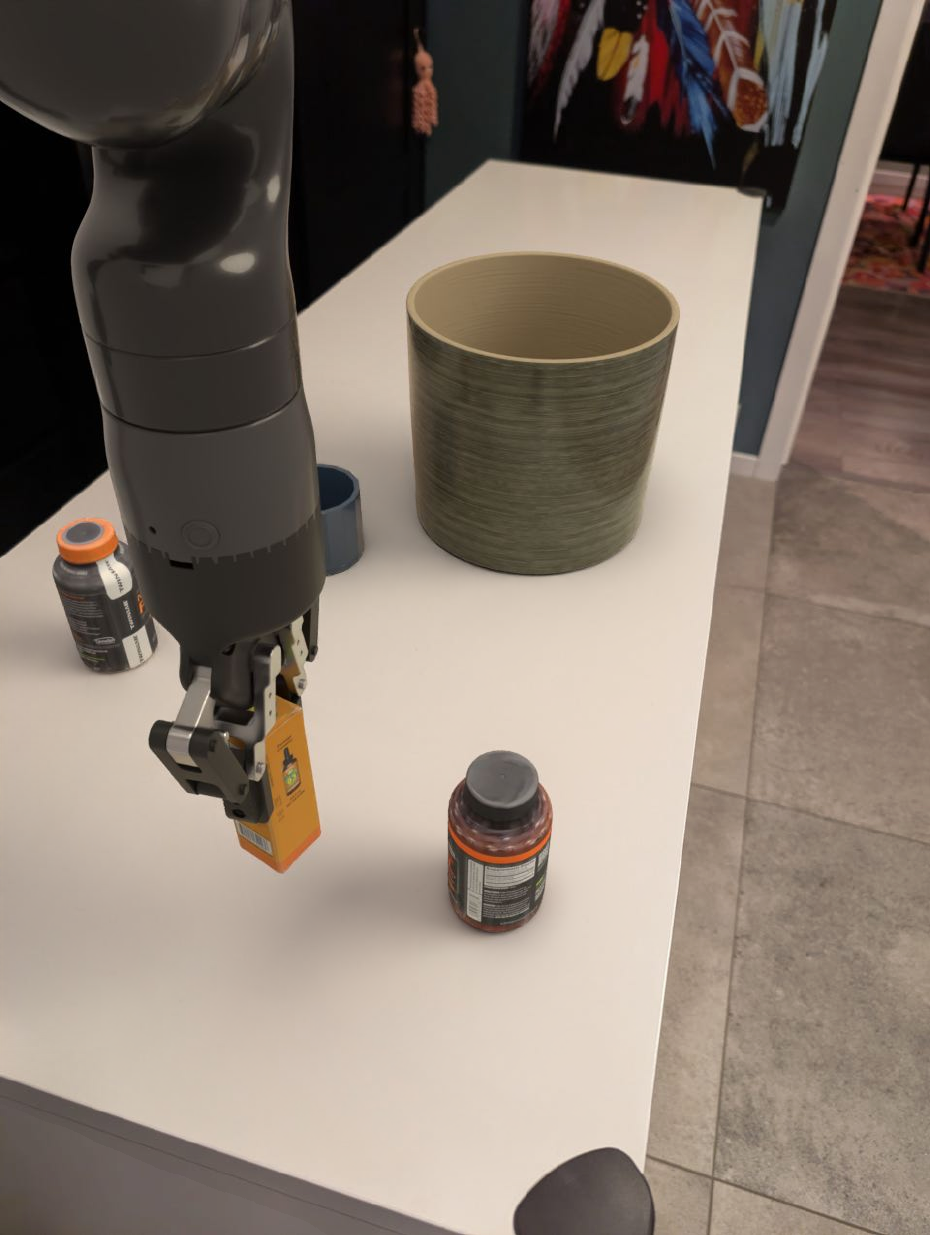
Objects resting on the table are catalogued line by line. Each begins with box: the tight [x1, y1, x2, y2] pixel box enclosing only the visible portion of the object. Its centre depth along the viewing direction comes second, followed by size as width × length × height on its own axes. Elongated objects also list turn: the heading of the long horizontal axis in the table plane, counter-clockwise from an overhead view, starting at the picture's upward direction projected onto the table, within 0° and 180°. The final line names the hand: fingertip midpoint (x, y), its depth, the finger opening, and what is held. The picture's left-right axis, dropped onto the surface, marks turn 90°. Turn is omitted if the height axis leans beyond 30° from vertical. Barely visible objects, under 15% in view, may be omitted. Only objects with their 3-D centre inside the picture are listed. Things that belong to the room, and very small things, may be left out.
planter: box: [405, 250, 681, 575], centre depth 84 cm, size 22×22×20 cm
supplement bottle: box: [447, 749, 554, 933], centre depth 56 cm, size 6×6×11 cm
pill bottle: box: [51, 517, 159, 673], centre depth 72 cm, size 6×6×11 cm
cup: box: [317, 463, 365, 577], centre depth 83 cm, size 8×8×6 cm
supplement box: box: [226, 695, 322, 875], centre depth 48 cm, size 3×4×10 cm
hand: (267, 778), depth 48 cm, fingers closed on supplement box, 4 cm apart
